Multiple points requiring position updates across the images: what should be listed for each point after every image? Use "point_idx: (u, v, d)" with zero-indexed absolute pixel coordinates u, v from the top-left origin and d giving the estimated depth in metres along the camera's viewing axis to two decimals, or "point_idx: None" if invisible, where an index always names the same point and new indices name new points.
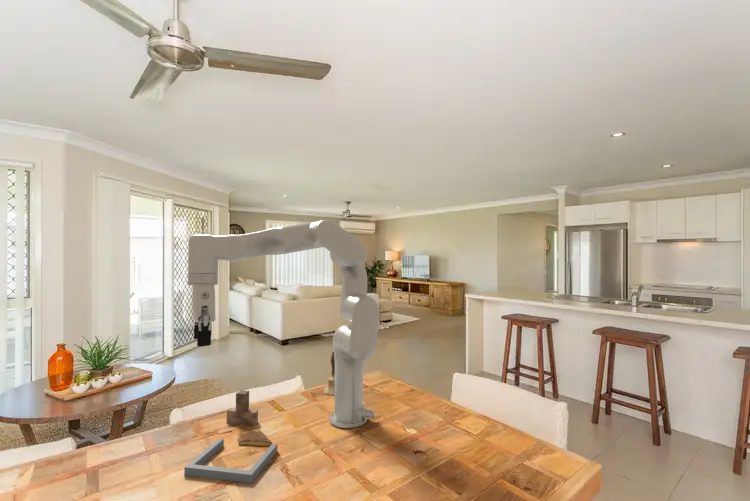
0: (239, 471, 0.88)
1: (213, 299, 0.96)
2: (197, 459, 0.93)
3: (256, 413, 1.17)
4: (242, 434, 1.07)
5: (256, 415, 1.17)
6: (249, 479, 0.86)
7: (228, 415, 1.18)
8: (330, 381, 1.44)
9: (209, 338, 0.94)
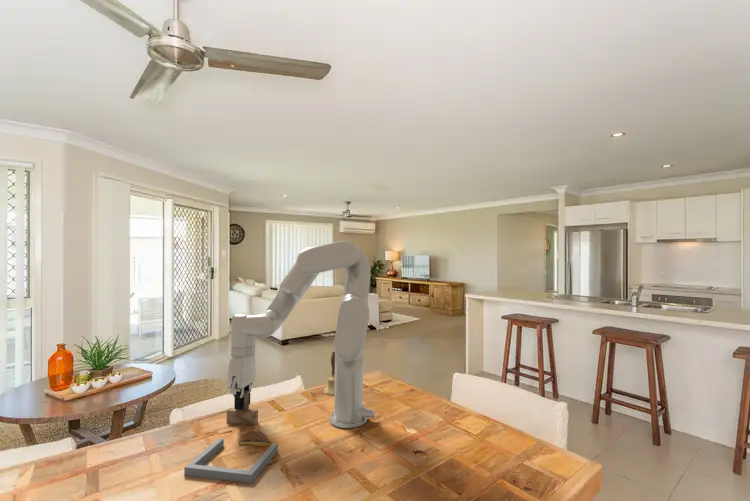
0: (239, 471, 0.88)
1: None
2: (197, 459, 0.93)
3: (256, 413, 1.17)
4: (242, 434, 1.07)
5: (256, 415, 1.17)
6: (249, 479, 0.86)
7: (228, 415, 1.18)
8: (330, 381, 1.44)
9: None
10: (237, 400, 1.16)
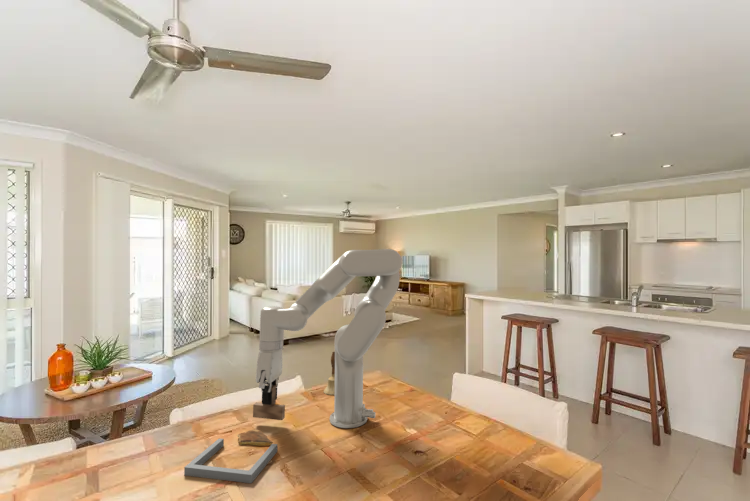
0: (239, 471, 0.88)
1: None
2: (197, 459, 0.93)
3: (283, 408, 1.16)
4: (242, 434, 1.08)
5: (283, 410, 1.16)
6: (249, 479, 0.86)
7: (255, 409, 1.16)
8: (330, 381, 1.44)
9: None
10: (265, 395, 1.14)
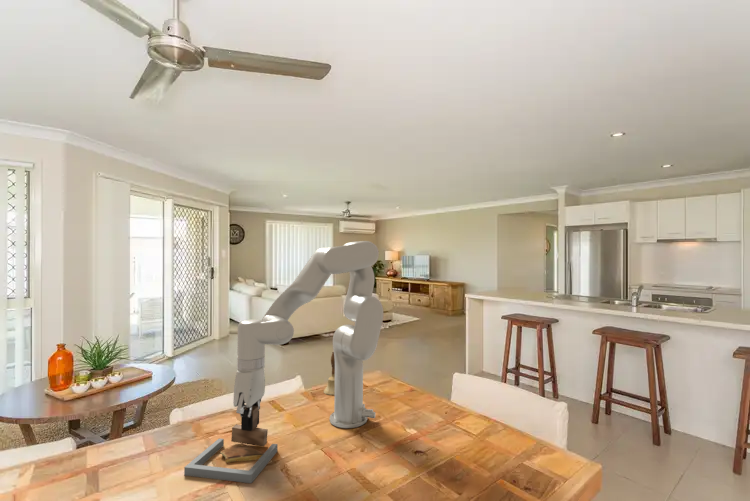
0: (239, 471, 0.88)
1: None
2: (197, 459, 0.93)
3: (265, 433, 1.03)
4: (226, 451, 0.98)
5: (265, 435, 1.03)
6: (249, 479, 0.86)
7: (233, 433, 1.03)
8: (330, 381, 1.44)
9: None
10: (244, 420, 1.01)
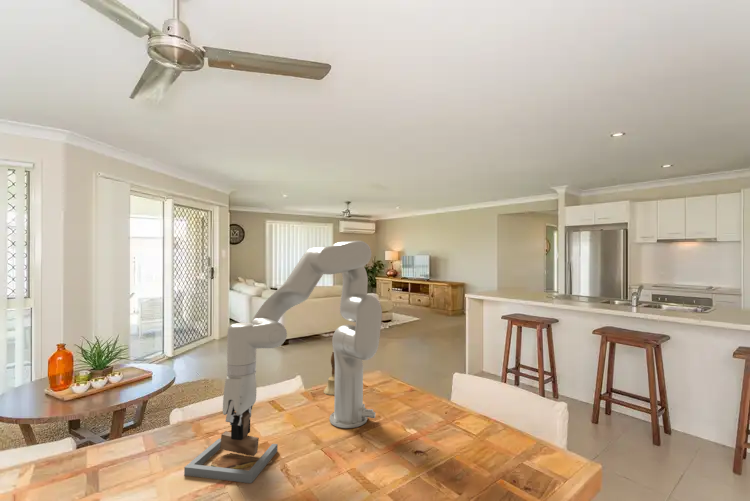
0: (239, 471, 0.88)
1: None
2: (197, 459, 0.93)
3: (256, 441, 0.98)
4: (217, 462, 0.93)
5: (256, 444, 0.98)
6: (249, 479, 0.86)
7: (223, 440, 0.98)
8: (330, 381, 1.44)
9: None
10: (234, 428, 0.96)
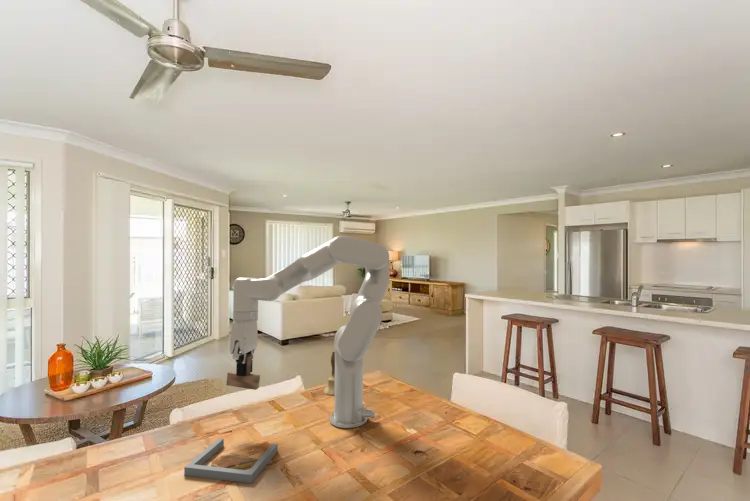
0: (239, 471, 0.88)
1: None
2: (197, 459, 0.93)
3: (258, 378, 1.14)
4: (217, 462, 0.93)
5: (258, 380, 1.14)
6: (249, 479, 0.86)
7: (229, 377, 1.14)
8: (330, 381, 1.44)
9: None
10: (239, 366, 1.12)
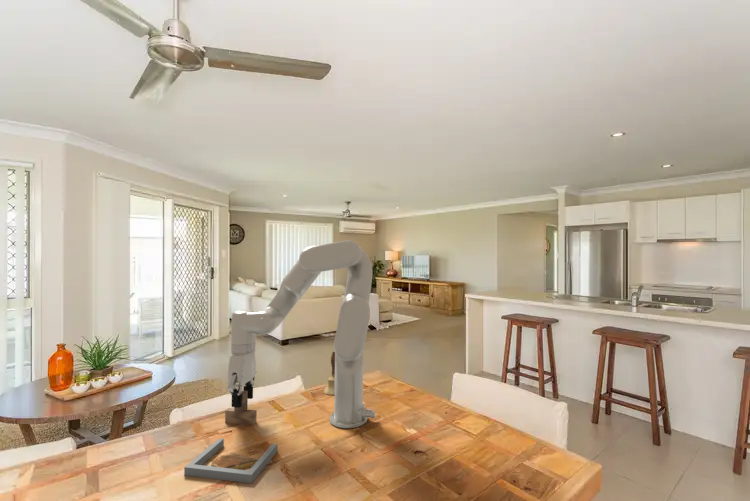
0: (239, 471, 0.88)
1: None
2: (197, 459, 0.93)
3: (255, 413, 1.17)
4: (217, 462, 0.93)
5: (255, 415, 1.17)
6: (249, 479, 0.86)
7: (227, 415, 1.18)
8: (330, 381, 1.44)
9: None
10: (234, 398, 1.14)
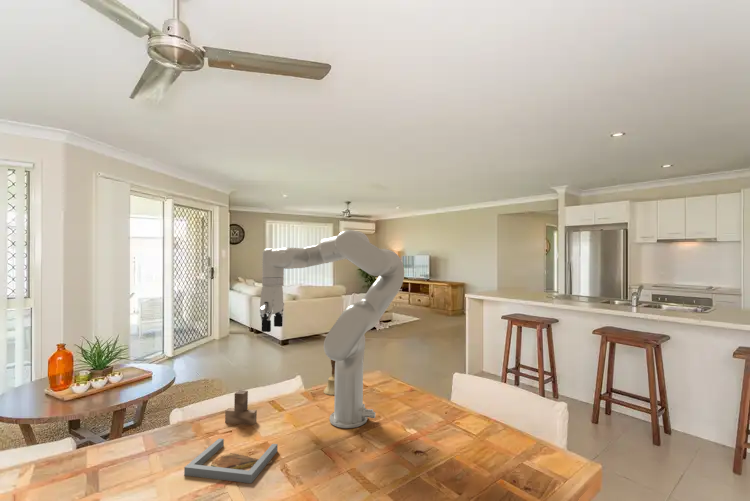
0: (239, 471, 0.88)
1: None
2: (197, 459, 0.93)
3: (255, 413, 1.17)
4: (217, 462, 0.93)
5: (255, 415, 1.17)
6: (249, 479, 0.86)
7: (227, 415, 1.18)
8: (330, 381, 1.44)
9: None
10: (264, 323, 1.25)
